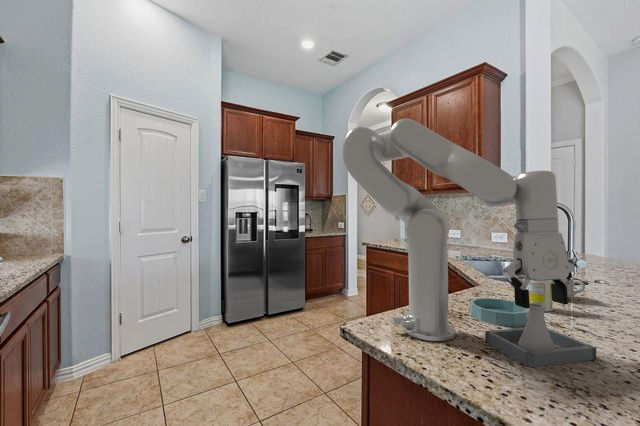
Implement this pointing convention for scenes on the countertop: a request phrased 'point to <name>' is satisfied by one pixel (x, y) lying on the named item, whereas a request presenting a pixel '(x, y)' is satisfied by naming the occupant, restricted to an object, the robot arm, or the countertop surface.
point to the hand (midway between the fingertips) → (541, 304)
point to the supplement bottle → (540, 293)
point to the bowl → (499, 312)
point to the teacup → (571, 287)
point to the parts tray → (568, 354)
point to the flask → (536, 331)
